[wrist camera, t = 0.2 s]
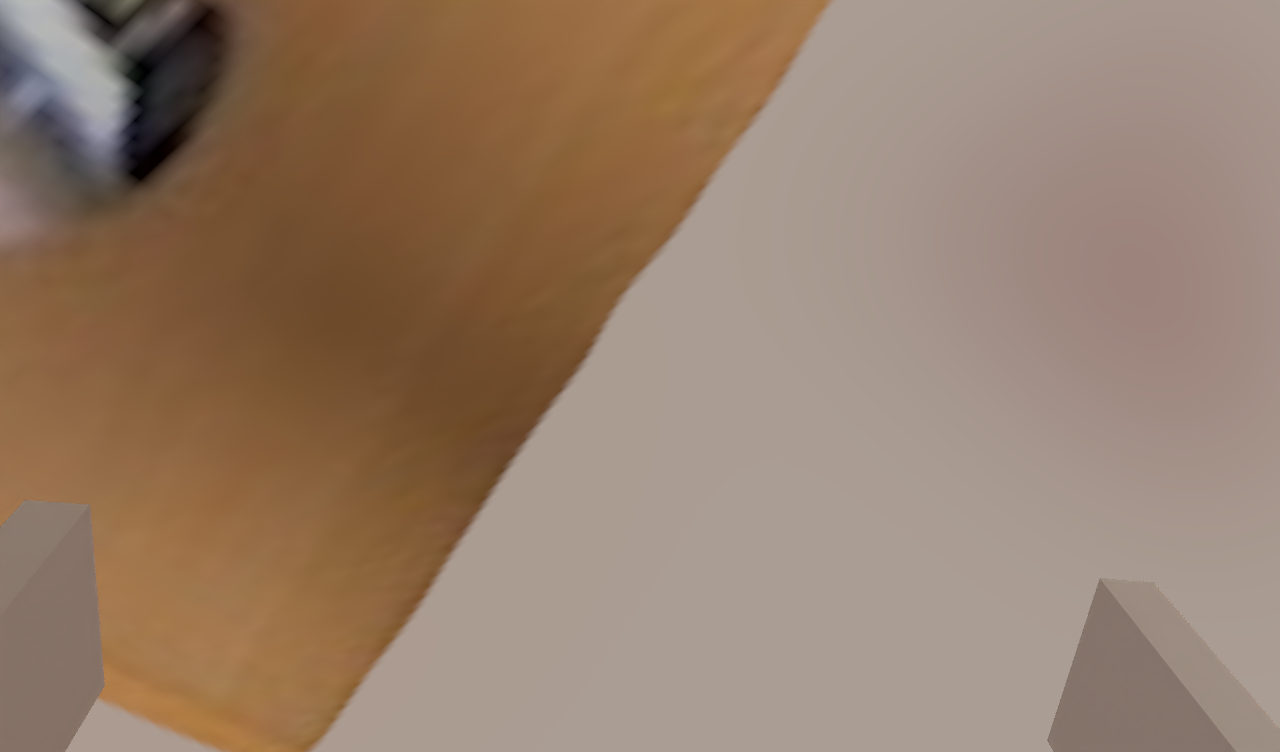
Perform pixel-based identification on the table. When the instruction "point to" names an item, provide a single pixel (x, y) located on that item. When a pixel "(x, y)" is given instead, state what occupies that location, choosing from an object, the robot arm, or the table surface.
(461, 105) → the table surface
